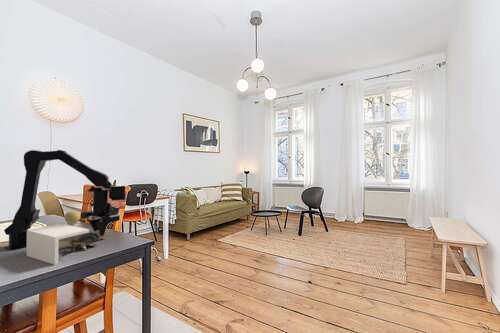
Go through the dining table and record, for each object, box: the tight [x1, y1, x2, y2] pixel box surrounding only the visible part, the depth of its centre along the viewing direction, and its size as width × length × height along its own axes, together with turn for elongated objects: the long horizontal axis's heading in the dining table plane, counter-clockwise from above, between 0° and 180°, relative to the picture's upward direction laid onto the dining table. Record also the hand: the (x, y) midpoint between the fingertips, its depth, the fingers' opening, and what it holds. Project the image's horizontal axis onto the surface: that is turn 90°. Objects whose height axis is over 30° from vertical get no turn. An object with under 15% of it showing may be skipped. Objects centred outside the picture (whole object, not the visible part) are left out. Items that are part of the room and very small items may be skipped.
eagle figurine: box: [69, 232, 100, 253], centre depth 99 cm, size 8×7×9 cm
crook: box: [59, 229, 108, 250], centre depth 101 cm, size 10×24×4 cm, turn 144°
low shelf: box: [25, 223, 90, 266], centre depth 92 cm, size 18×12×10 cm, turn 66°
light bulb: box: [64, 210, 81, 227], centre depth 124 cm, size 6×6×10 cm
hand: (99, 235), depth 111 cm, fingers closed on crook, 3 cm apart
